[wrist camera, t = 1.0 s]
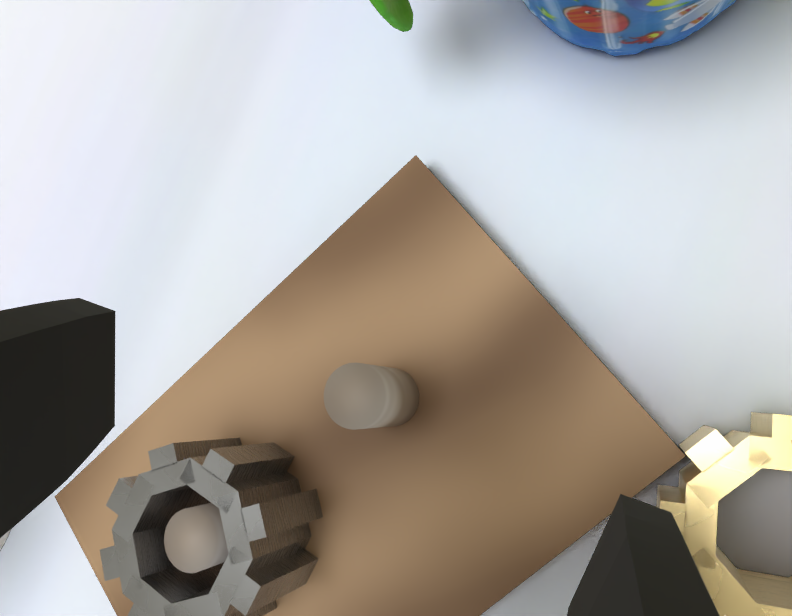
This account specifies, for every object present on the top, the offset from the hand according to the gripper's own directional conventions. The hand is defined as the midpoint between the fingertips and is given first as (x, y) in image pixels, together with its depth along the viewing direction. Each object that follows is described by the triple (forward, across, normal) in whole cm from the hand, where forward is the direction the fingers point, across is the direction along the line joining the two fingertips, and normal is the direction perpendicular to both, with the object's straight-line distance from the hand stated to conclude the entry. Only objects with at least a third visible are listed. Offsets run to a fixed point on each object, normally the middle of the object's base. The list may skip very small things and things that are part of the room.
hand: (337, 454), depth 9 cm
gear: (+8, +5, +11) cm, 15 cm away
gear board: (+10, +3, +10) cm, 14 cm away
